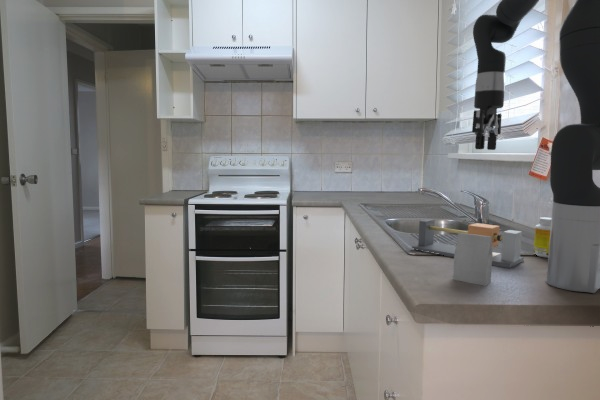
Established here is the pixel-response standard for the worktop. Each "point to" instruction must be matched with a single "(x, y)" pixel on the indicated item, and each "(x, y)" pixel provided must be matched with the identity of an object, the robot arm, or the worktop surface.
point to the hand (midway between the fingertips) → (485, 149)
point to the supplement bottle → (542, 237)
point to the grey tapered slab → (473, 259)
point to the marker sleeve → (485, 231)
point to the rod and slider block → (426, 233)
